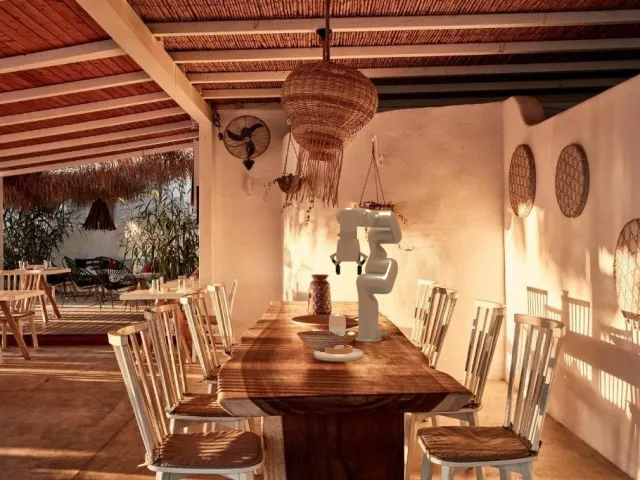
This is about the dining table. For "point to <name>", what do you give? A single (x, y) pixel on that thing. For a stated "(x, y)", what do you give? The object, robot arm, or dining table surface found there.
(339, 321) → the beer glass
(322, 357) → the white plate
